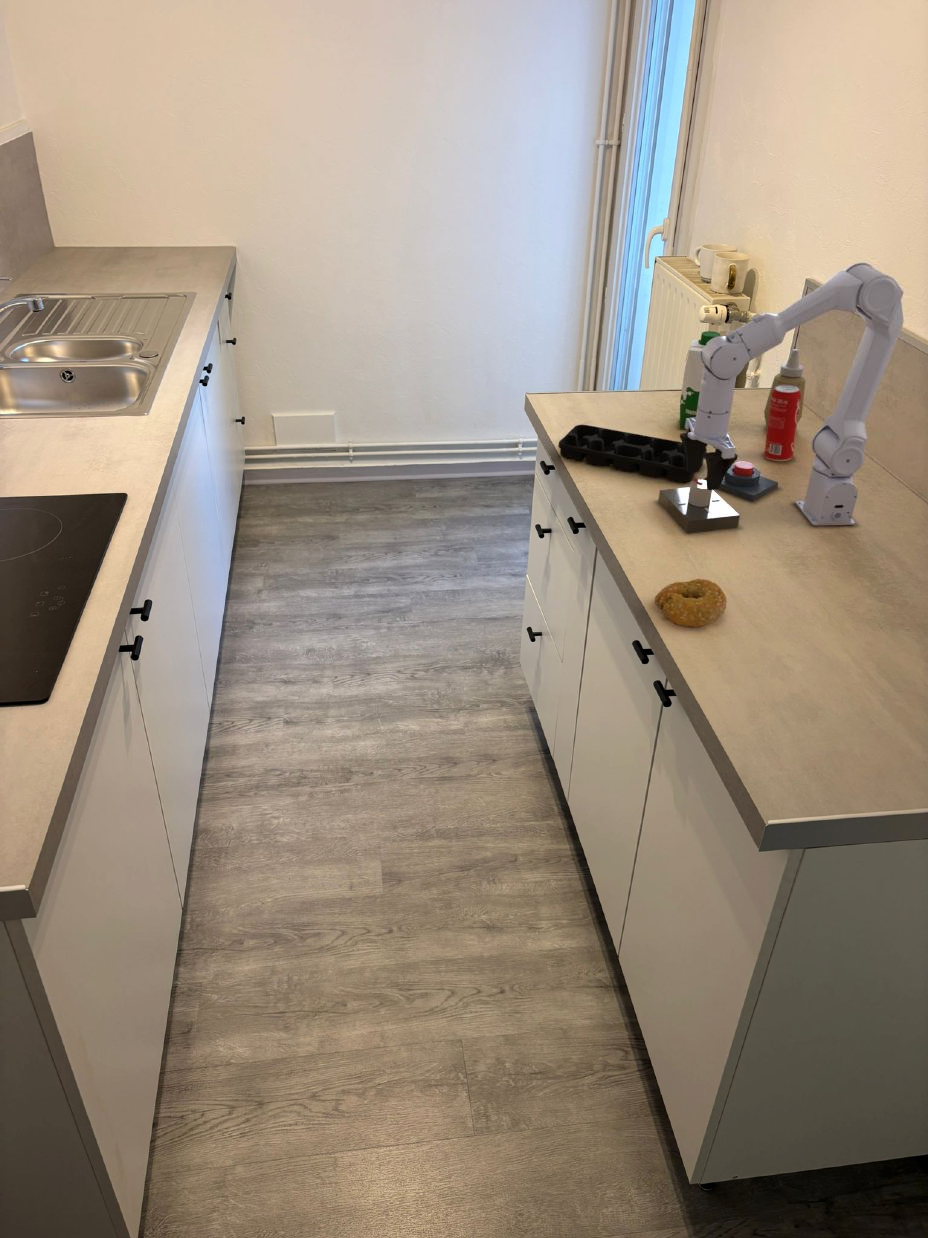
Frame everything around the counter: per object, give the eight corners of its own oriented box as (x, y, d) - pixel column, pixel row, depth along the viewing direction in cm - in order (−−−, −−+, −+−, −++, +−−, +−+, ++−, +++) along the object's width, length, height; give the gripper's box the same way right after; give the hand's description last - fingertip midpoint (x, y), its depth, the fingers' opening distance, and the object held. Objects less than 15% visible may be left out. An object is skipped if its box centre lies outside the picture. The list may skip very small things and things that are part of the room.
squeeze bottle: (753, 425, 217) (768, 346, 207) (781, 420, 220) (797, 342, 210) (777, 438, 211) (793, 357, 201) (806, 433, 214) (823, 352, 204)
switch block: (777, 488, 189) (780, 473, 187) (752, 502, 184) (755, 486, 182) (729, 471, 196) (731, 456, 194) (703, 483, 190) (706, 469, 189)
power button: (755, 473, 188) (757, 465, 187) (745, 478, 186) (747, 470, 185) (739, 467, 190) (741, 459, 189) (729, 472, 188) (731, 464, 187)
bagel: (672, 588, 157) (676, 562, 154) (735, 611, 151) (740, 585, 148) (641, 613, 150) (644, 586, 147) (705, 638, 144) (710, 611, 142)
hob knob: (714, 503, 177) (717, 484, 175) (699, 508, 175) (702, 489, 173) (698, 495, 180) (702, 476, 178) (683, 500, 178) (686, 481, 176)
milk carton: (718, 420, 219) (732, 332, 208) (715, 435, 212) (729, 344, 201) (679, 416, 221) (691, 328, 210) (674, 430, 214) (687, 340, 203)
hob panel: (737, 528, 175) (740, 514, 173) (686, 533, 173) (689, 519, 171) (706, 497, 185) (708, 484, 184) (657, 502, 183) (659, 489, 182)
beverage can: (793, 463, 199) (808, 393, 191) (760, 461, 200) (774, 391, 192) (790, 452, 204) (805, 384, 196) (759, 450, 205) (772, 381, 197)
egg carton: (703, 487, 189) (705, 469, 187) (552, 470, 195) (553, 453, 193) (706, 453, 203) (708, 436, 201) (565, 438, 209) (566, 421, 207)
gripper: (674, 396, 173) (664, 466, 180) (713, 425, 161) (701, 499, 168) (709, 392, 174) (698, 462, 182) (751, 421, 163) (737, 494, 170)
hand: (702, 480), depth 175 cm, fingers open, 7 cm apart
